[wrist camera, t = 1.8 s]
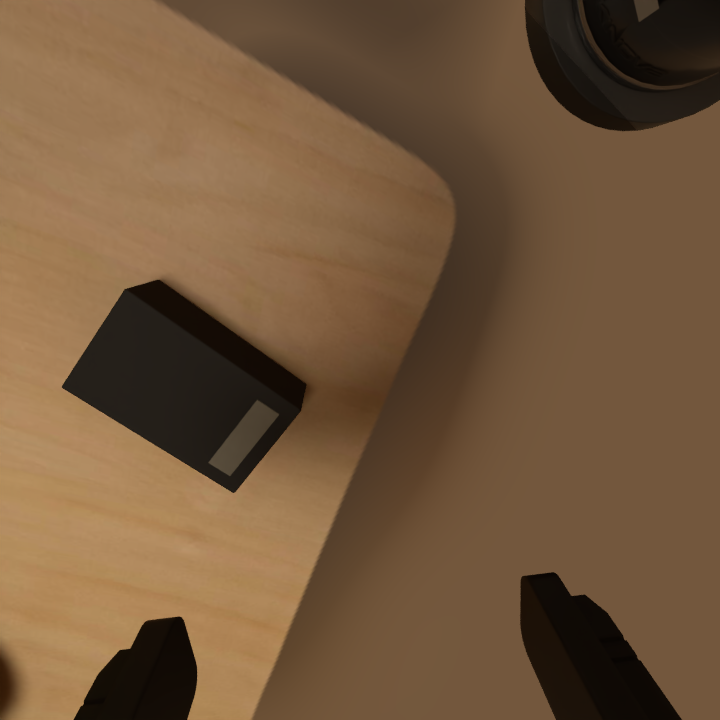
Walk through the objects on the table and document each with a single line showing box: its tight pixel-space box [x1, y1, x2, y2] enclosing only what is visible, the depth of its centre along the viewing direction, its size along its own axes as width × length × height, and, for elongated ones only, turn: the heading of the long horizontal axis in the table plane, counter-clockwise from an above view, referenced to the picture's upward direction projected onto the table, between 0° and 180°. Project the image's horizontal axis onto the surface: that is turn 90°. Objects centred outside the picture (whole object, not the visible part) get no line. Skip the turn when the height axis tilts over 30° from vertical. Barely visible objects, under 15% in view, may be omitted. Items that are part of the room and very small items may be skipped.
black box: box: [62, 280, 306, 493], centre depth 21 cm, size 6×9×4 cm, turn 51°
